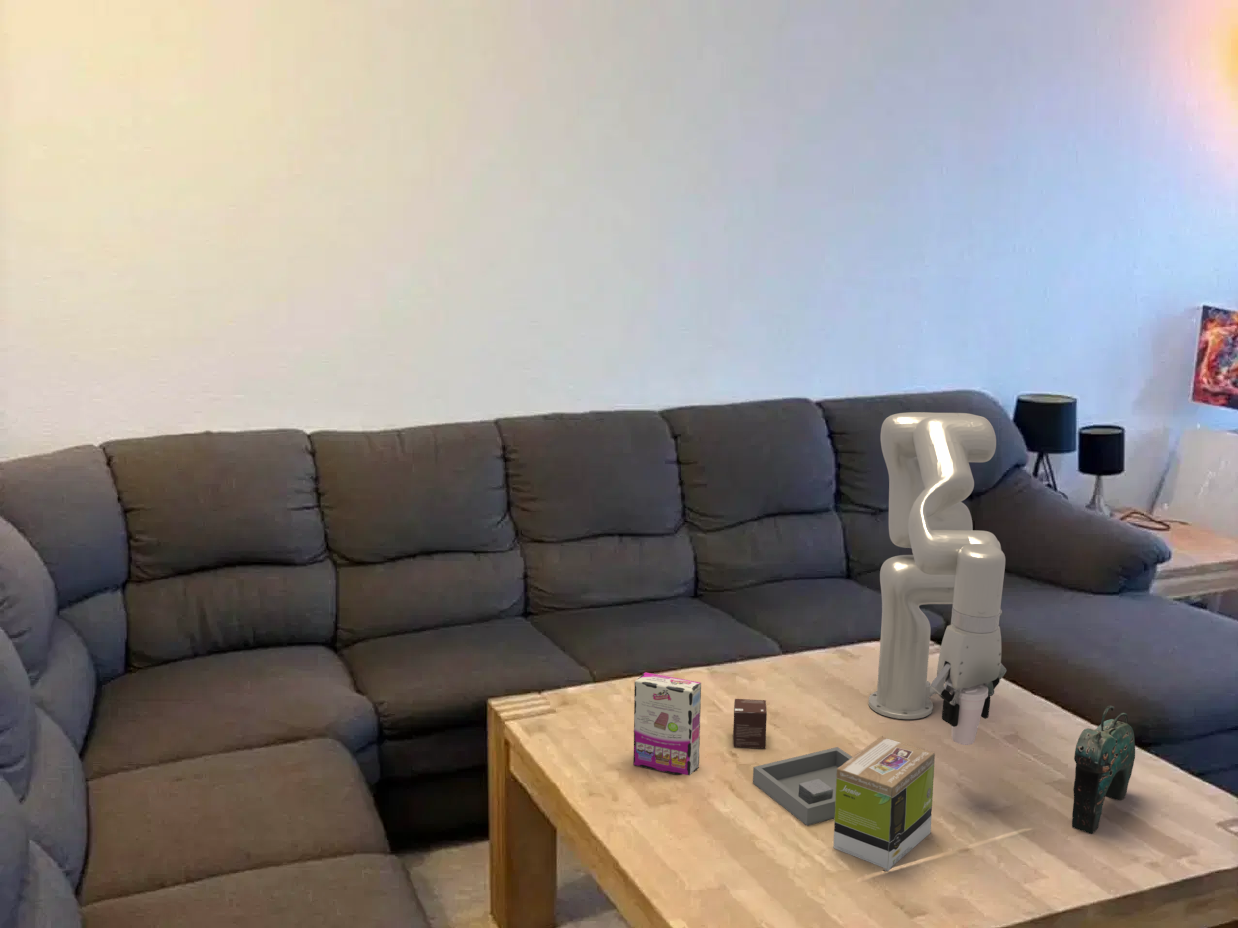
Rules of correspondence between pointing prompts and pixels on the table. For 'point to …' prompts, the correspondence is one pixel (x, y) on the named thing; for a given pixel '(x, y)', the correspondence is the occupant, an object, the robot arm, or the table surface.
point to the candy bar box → (667, 724)
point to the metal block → (815, 791)
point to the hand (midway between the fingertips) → (965, 718)
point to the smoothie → (969, 713)
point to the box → (749, 723)
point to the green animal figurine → (1101, 769)
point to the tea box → (883, 801)
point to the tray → (789, 773)
